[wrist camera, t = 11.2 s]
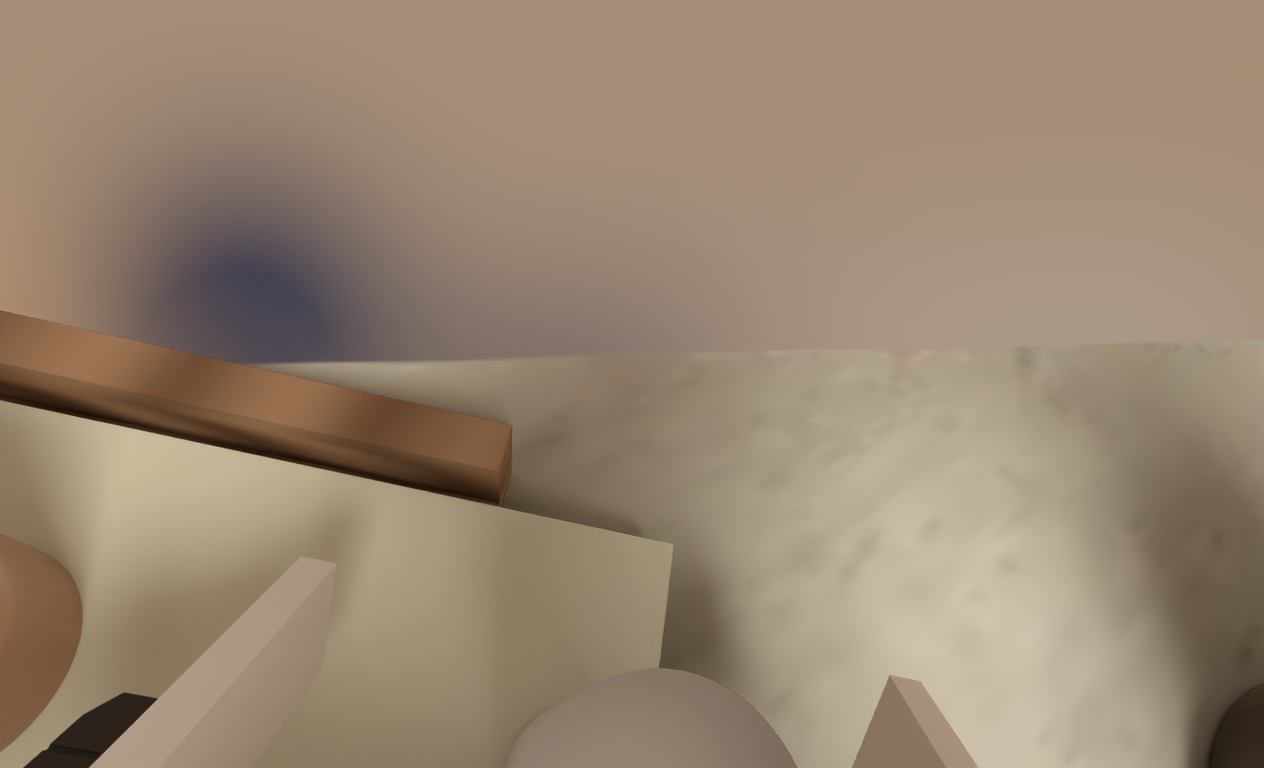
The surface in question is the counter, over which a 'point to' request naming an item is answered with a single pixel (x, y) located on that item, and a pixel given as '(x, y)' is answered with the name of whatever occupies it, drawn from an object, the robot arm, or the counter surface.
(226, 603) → the cream flat panel
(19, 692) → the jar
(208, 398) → the tray
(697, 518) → the counter surface
